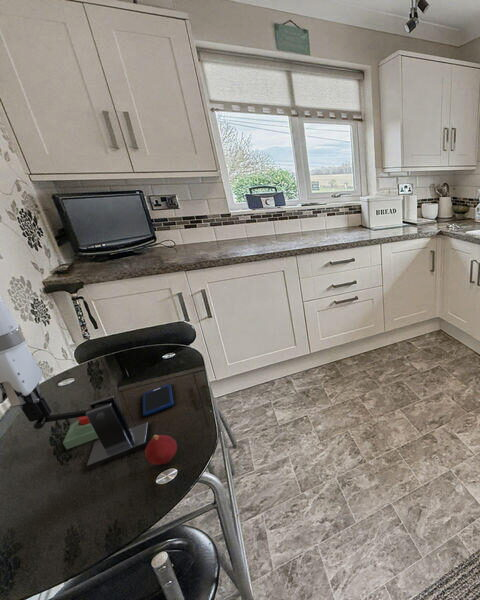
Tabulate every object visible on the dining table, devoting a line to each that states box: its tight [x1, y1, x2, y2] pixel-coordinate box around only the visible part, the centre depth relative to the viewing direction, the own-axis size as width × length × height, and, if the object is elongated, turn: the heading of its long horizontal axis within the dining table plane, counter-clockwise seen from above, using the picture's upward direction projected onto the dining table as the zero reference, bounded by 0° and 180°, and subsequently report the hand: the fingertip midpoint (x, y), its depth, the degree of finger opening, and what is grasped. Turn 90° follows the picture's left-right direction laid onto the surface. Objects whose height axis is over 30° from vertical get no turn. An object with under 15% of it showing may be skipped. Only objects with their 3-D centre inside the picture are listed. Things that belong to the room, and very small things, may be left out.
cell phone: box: [142, 383, 175, 417], centre depth 98 cm, size 7×14×1 cm, turn 38°
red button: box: [77, 416, 90, 425], centre depth 86 cm, size 4×4×2 cm
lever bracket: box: [86, 395, 150, 470], centre depth 79 cm, size 11×9×13 cm
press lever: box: [33, 403, 112, 430], centre depth 75 cm, size 12×5×2 cm, turn 122°
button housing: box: [62, 419, 99, 450], centre depth 87 cm, size 10×8×4 cm
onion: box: [144, 434, 178, 466], centre depth 73 cm, size 6×6×8 cm
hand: (41, 416), depth 71 cm, fingers closed
